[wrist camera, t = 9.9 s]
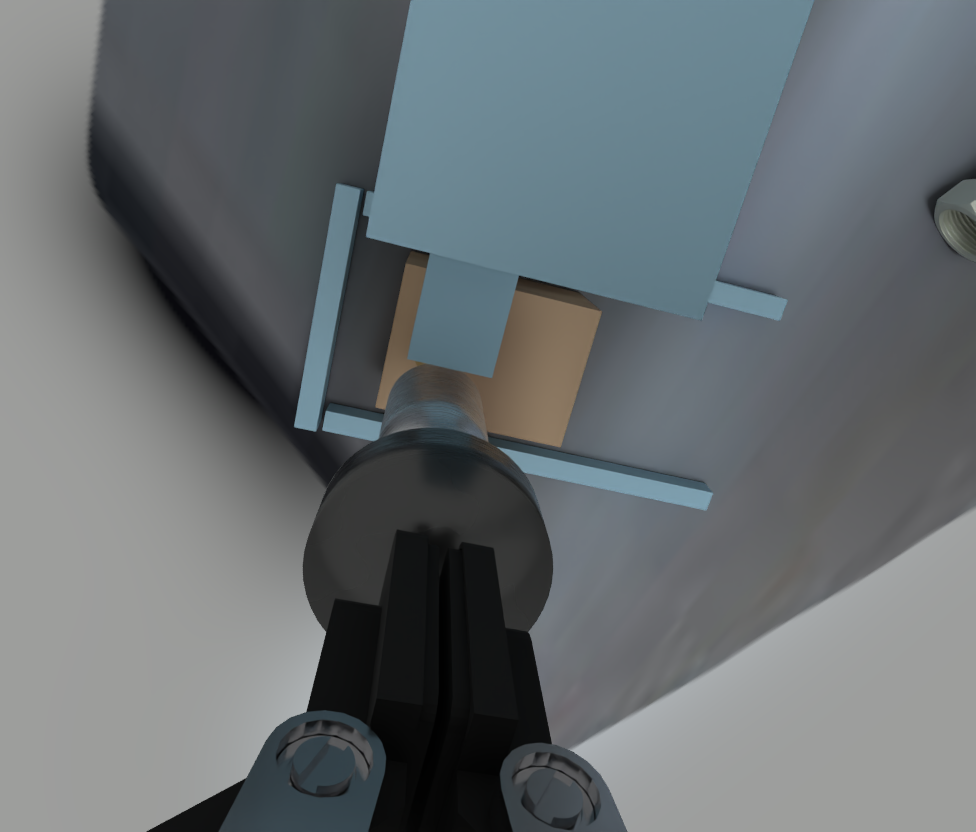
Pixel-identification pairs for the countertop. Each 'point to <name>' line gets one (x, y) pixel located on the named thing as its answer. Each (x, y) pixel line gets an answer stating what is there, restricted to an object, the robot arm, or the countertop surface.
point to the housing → (513, 356)
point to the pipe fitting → (959, 218)
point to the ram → (429, 501)
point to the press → (561, 179)
